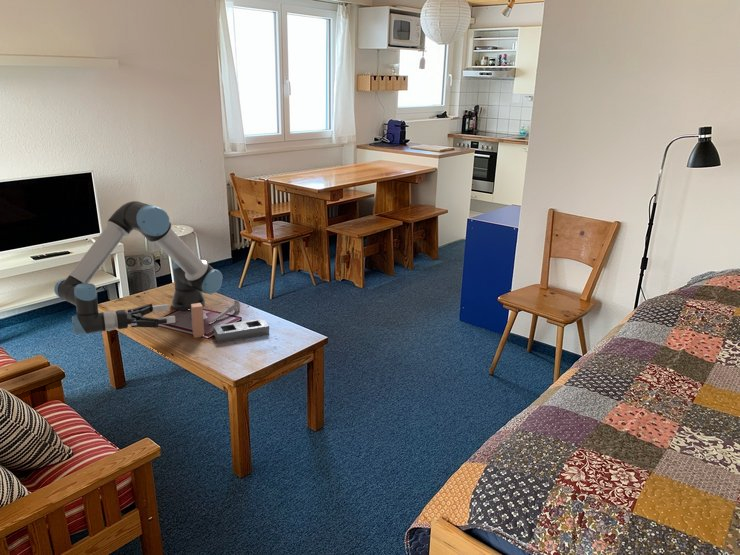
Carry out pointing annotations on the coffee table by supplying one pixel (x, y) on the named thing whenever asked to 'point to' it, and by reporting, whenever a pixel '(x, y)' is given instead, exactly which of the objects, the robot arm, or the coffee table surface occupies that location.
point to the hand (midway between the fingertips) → (172, 313)
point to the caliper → (228, 310)
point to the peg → (197, 320)
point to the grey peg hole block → (240, 330)
